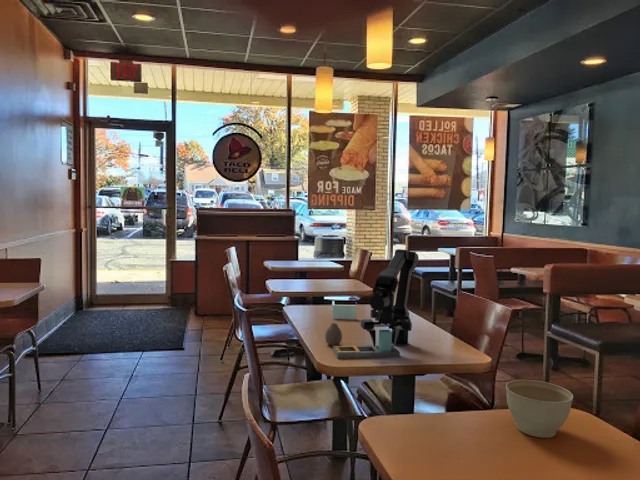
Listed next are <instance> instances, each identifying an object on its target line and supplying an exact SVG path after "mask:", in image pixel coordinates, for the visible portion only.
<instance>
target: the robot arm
mask: <svg viewBox="0 0 640 480" xmlns="http://www.w3.org/2000/svg"><path fill="white" fill-rule="evenodd" d="M418 263H419V255H418V253H417V252H416V251H409V250H408V249H403V248H402V249H401V248H400V249H399V248H398V249H397V248H396V249H395V250H394V255H393V256H392V259H391V260H390V262H389V263H388V266H387V268H386V269H384V270H381V271H380V273H378V276H377V277H376V280H375V284H374V287H373V293H374V295H373V296H372V297H370V300H369V306H370V308H371V309H370V313H369V314H370V315H369V316H370V318H369V319H368V318H367V319H361V321H360V327H361V328H362V329H363V330H365V331H367V332H369V335H370V338H371V342H372V345H373V346H374V347H375V345H376V344H377V341H376V339H377V337H376V333H377V331H376V329H375V328H376V327H378V328H381V327H382V328H384V327H385V328H388V330H391V332H392V343H391V345H393V346H394V347H397V346H409V345H410V343H409V332H410V331H412V328H413V327H412V326H413V323H412V321H411V317H410V311H409V310H408V307H407V305H408V298H409V290H410V283H411V277H412V272H414V270H415V269H416V268H417V264H418ZM398 275H399V277H398ZM395 294H396V299H395ZM372 319H374V321H373V320H372Z"/></svg>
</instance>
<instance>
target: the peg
mask: <svg viewBox="0 0 640 480" xmlns="http://www.w3.org/2000/svg"><path fill="white" fill-rule="evenodd" d="M377 345H378V350H379V351H391V345H392V330H391V329H379V330H378V344H377Z"/></svg>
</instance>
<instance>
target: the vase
mask: <svg viewBox="0 0 640 480" xmlns="http://www.w3.org/2000/svg"><path fill="white" fill-rule="evenodd" d="M324 336H325V343H327V345H329V346H331V347H333V346H340V344H341V342H342V340H343V332H342V330H341V328H340V327H339V326H338V323H336V322H335V323H334V322H333V323H330V325H329V327H328V328H327V329H326V331H325V334H324Z"/></svg>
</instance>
